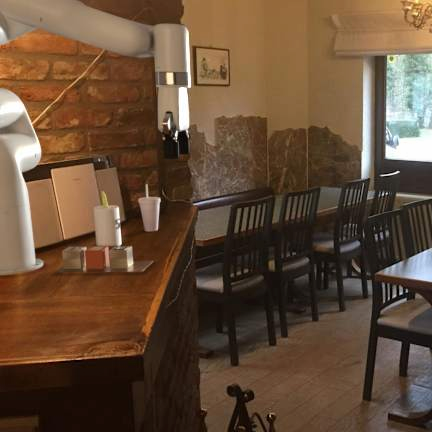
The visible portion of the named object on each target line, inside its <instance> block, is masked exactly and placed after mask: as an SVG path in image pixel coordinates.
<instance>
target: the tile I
mask: <svg viewBox="0 0 432 432" xmlns="http://www.w3.org/2000/svg"><path fill="white" fill-rule="evenodd" d="M87 249H88V248H87V246H68V247H66V248H65V249H62V251H61V252H62V253H61V255H62V265H63V267H64V269H82V268H83V267H85V266H86V261H85V250H87Z"/></svg>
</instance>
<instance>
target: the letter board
mask: <svg viewBox="0 0 432 432" xmlns="http://www.w3.org/2000/svg"><path fill="white" fill-rule="evenodd" d="M153 262H154V260H133V264H132V265H131V266H130V267H129V268H120V269H111V266H110V264H109V265H108V266H106V267H105V268H104V269H86V266H85V267H83V268H82V269H64V266H63V267H61V268H60V269H58V270H57V271H56V273H136V272H137V273H138V272H139V273H142V272H144V271H146V269H147V268H148V267H149V266H150V265H151V264H152V263H153ZM109 263H110V260H109Z"/></svg>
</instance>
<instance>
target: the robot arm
mask: <svg viewBox="0 0 432 432" xmlns="http://www.w3.org/2000/svg"><path fill="white" fill-rule="evenodd" d="M37 29H38V30H42V31H45V32H48V33H51V34H54V35H57V36H61V37H63V38H66V39H69V40H72V41H78V42H81V43H83V44H87V45H90V46H93V47H95V48H99V49H102V50H105V51H108V52H111V53H115V54H118V55H121V56H125V57H131V58H132V57H133V58H138V59H146V58H152V57H154V59H153V60H154V72H155V73H154V75H155V77H154V78H155V88H158V91H157V129H158V131H159V132H161V133H162V134H163V135H162V147H163V148H162V149H163V158H164V159H165V160H179V158H180V155H189V154H190V137H189V135H190V134H189V128H190V109H189V95H188V88H190V89H191V88H192V85H191V84H192V81H191V60H190V39H189V30H188V28H187V27H186V26H185V25H183V24H180V23H179V24H178V23H158V24H155V25H150V24H149V25H148V24H144V23H140V22H137V21H135V20H131V19H128V18H124V17H121V16H117V15H116V14H115V15H114V14H112V13H109V12H105V11H102V10H100V9H96V8H93V7H91V6H89V5H86V4H84V3H83V2H82V1H80V0H0V46H2V45H5V44H8V43H10V42H12V41H14V40H16V39H19V38H20V37H23V36H25V35H28V34H29V33H31V32H33V31H35V30H37ZM41 159H42V147H41V144H40V140H39V138H38V136H37V133H36V131H35V128H34V126H33V123H32V121H31V119H30V116H29V113H28V111H27V108H26V106H25V105H24V103H23V101H22V100H21V98H20V97H19V96H18V95H17V94H16V93H14V92H13V91H11V90H9V89H6V88H3V87H0V276H8V275H18V274H25V273H28V272H32V271H36V270H38V269H40V268H42V267H43V266H44V260H42V259H41V258H38V257H37V258H36V251H35V240H34V231H33V221H32V212H31V205H30V204H31V203H30V196H29V190H28V186H27V183H26V181H25V178H24V176H23V173H25V172H28V171H30V170H32V169H35V167H36V166H38V164H39V163H40V161H41Z"/></svg>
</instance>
